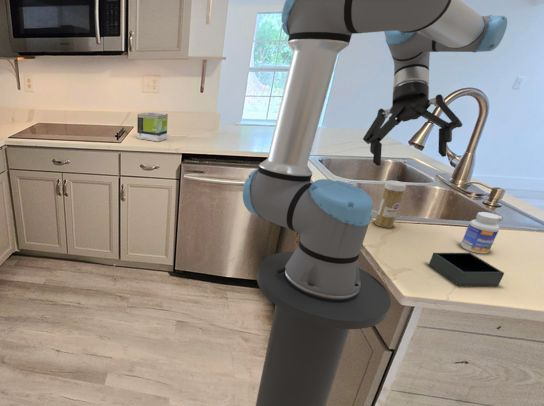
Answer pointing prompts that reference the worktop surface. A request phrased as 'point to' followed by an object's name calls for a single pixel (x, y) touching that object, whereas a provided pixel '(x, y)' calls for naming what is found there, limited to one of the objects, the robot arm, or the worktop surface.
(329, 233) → the robot arm
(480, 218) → the pill bottle
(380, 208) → the sprinkles bottle
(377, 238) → the worktop surface
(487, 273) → the dark gray tray
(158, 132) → the tea box
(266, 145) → the worktop surface
